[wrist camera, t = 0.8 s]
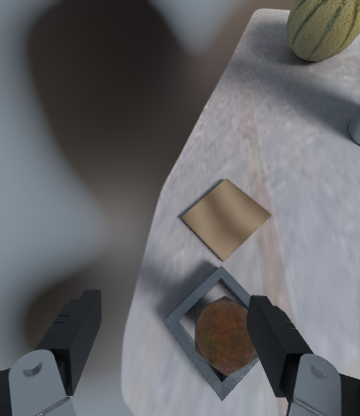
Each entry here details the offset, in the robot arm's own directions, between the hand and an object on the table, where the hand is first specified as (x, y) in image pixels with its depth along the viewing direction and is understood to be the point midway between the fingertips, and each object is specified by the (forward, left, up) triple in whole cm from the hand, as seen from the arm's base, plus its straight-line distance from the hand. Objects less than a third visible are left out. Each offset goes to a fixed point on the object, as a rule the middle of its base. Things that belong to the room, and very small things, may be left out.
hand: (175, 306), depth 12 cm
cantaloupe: (-57, -23, -23) cm, 66 cm away
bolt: (-1, +3, -23) cm, 24 cm away
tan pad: (-13, -8, -23) cm, 28 cm away
